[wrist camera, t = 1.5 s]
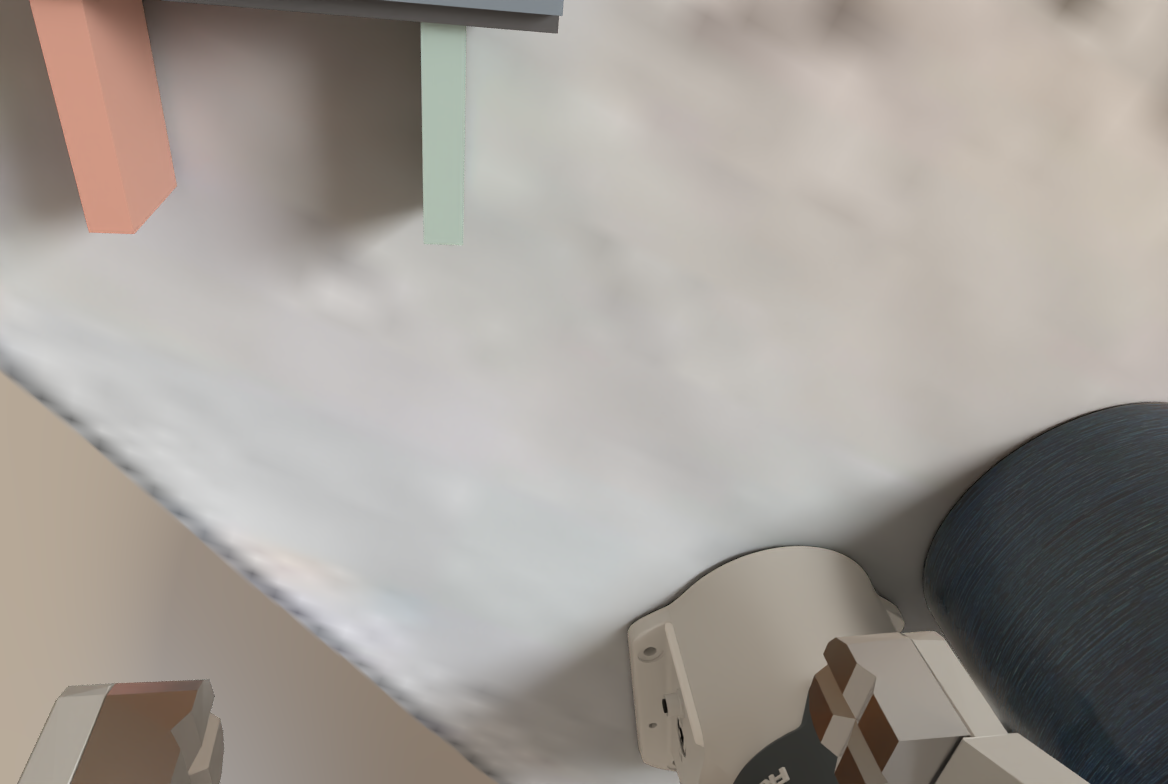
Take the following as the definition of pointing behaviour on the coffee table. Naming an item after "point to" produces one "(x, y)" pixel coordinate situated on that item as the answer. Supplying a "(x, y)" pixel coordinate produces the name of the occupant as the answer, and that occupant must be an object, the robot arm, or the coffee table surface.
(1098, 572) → the planter
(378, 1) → the grey rectangular block
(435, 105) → the mint green upright slab
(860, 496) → the coffee table surface
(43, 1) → the pink stick
